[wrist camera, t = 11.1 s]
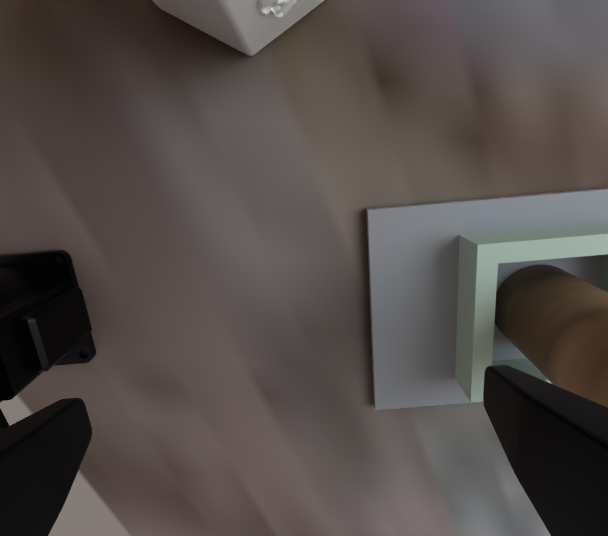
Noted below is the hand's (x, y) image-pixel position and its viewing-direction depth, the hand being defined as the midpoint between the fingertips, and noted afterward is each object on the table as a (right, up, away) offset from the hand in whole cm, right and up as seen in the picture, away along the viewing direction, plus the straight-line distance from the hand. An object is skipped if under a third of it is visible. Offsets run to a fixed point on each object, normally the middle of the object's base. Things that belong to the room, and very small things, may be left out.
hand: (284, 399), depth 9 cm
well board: (+13, +1, +13) cm, 19 cm away
